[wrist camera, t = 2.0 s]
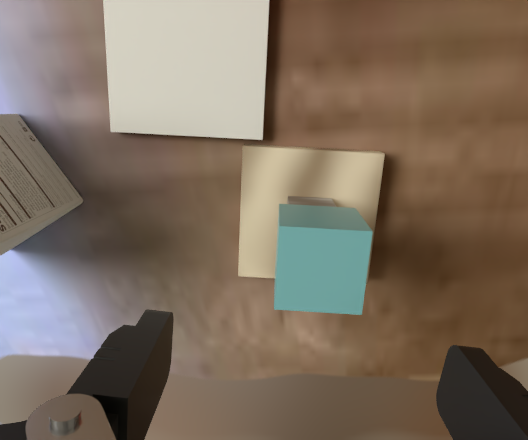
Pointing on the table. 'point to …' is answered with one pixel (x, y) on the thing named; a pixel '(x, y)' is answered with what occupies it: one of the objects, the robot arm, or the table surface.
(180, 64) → the pad
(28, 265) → the table surface
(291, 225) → the teal cube block
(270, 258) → the post stand
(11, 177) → the supplement box
